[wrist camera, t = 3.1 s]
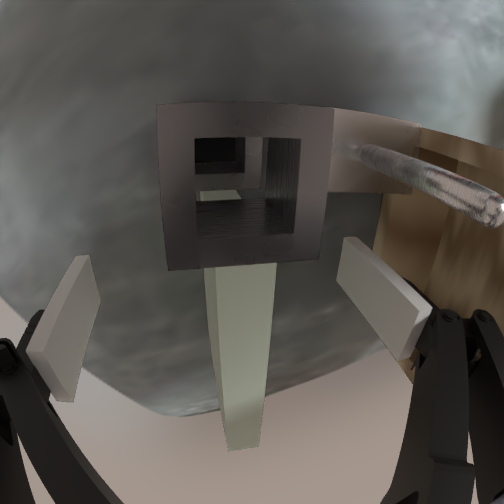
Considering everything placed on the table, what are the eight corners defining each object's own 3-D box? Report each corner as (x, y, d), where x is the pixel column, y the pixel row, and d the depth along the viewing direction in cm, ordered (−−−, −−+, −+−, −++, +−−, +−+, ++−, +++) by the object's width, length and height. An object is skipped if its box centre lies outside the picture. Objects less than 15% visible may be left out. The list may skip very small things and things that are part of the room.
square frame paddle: (176, 107, 14) (156, 104, 5) (250, 106, 15) (334, 108, 6) (191, 329, 21) (204, 453, 12) (245, 324, 22) (281, 442, 13)
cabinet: (307, 106, 15) (549, 156, 3) (459, 135, 18) (607, 199, 6) (288, 319, 22) (364, 486, 10) (420, 295, 25) (511, 396, 13)
